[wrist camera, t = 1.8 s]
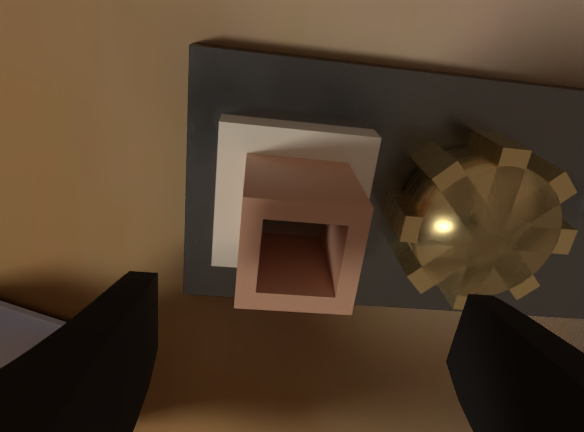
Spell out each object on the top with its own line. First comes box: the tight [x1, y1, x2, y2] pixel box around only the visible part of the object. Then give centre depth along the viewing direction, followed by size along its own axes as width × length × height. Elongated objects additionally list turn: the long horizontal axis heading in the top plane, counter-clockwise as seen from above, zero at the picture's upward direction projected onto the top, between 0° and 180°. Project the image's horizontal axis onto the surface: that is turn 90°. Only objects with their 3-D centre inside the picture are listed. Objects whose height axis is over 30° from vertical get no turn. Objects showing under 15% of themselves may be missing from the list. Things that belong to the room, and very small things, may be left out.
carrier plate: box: [183, 43, 584, 319], centre depth 18 cm, size 22×10×4 cm, turn 83°
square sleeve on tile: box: [211, 114, 381, 315], centre depth 16 cm, size 6×6×5 cm
